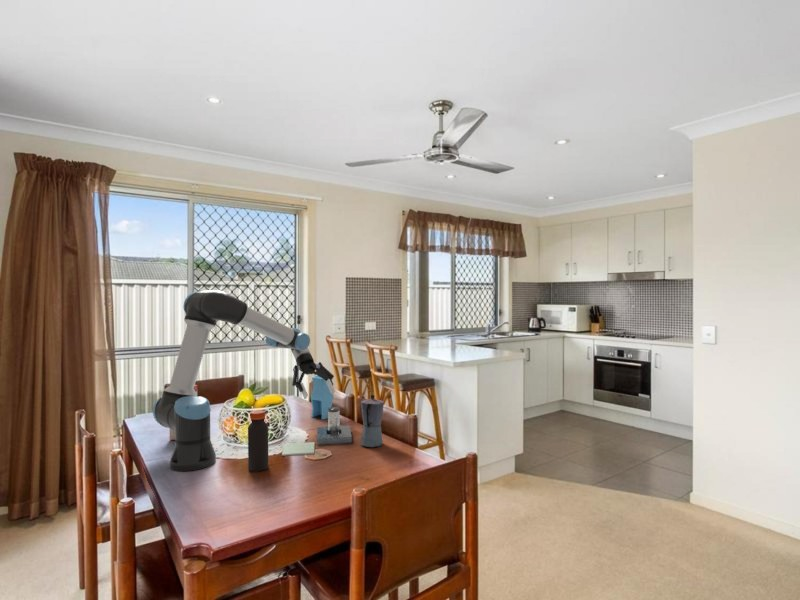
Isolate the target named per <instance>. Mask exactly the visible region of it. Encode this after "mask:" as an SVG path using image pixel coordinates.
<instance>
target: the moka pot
mask: <svg viewBox="0 0 800 600" xmlns="http://www.w3.org/2000/svg"><path fill="white" fill-rule="evenodd" d="M384 404H385V402H384V401H383V400H381V399H377V398H375V394H370V398H368V399H364V400H361V401H360V407H361V416H362V421H363V423H362V425H363V427H362V432H361V439H360V445H361V446H362V447H367V448H377V447H381V446H383V443H384V442H383V434H382V426H381V425H382V420H383V412H384V406H385V405H384Z"/></svg>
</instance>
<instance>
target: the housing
mask: <svg viewBox="0 0 800 600" xmlns="http://www.w3.org/2000/svg"><path fill="white" fill-rule="evenodd" d="M316 432H317V433H316V445H317V446H321V445H322V446H323V445H324V446H325V445H339V444H352V442H353V441H352V439H353V438H352V436H353V435H352V432H351V426H350V425H340V434H328V426H318V427H317V430H316Z"/></svg>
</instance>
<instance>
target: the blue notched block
mask: <svg viewBox="0 0 800 600" xmlns="http://www.w3.org/2000/svg"><path fill="white" fill-rule="evenodd" d="M311 378H312V379H311V380H312V385H313V386H312V387H313V388H312V393H311V396H310V402H311V407H312V410H311V416H310V418H316V417H318V416H321V420H325V419H328V408H330V407H333V406H332V405H333V401H334V395H333V394H334V393H333V394H331V392H330V390H329V388H328V386H327V384H326V382H327V381H326V380H324V379H323V378H321V377H319V376H318V375H313V376H311Z"/></svg>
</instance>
